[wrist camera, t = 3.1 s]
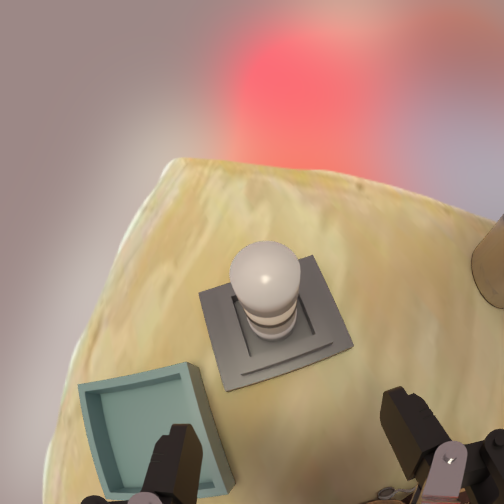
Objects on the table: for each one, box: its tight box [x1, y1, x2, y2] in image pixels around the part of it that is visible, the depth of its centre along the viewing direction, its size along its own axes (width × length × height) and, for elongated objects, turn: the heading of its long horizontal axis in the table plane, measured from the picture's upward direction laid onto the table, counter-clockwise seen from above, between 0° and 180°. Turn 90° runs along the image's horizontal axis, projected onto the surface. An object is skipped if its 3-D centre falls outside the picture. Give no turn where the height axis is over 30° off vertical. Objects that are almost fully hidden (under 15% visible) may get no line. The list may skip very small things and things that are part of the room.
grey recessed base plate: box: [199, 255, 354, 392], centre depth 25 cm, size 12×10×2 cm
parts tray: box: [78, 362, 236, 500], centre depth 20 cm, size 12×12×4 cm
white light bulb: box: [230, 241, 301, 342], centre depth 21 cm, size 4×4×10 cm
